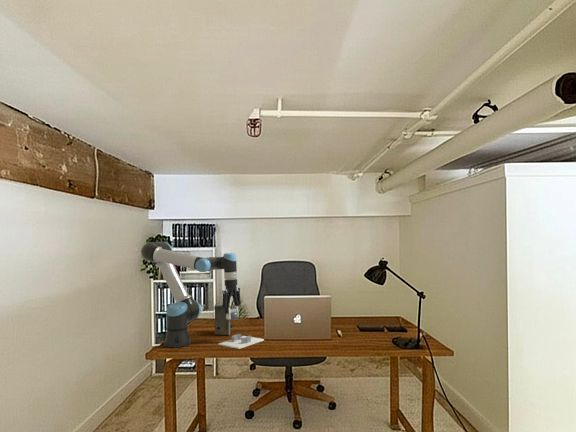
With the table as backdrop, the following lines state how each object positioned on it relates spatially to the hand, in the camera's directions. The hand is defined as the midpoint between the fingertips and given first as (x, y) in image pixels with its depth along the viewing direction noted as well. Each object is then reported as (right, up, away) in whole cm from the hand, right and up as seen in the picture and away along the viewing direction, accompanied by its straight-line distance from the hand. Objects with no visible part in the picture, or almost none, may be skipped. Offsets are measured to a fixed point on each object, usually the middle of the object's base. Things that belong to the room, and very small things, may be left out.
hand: (232, 317), depth 257 cm
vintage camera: (-8, -15, +21) cm, 27 cm away
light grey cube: (0, 0, 0) cm, 0 cm away
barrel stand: (+6, -13, -5) cm, 15 cm away
